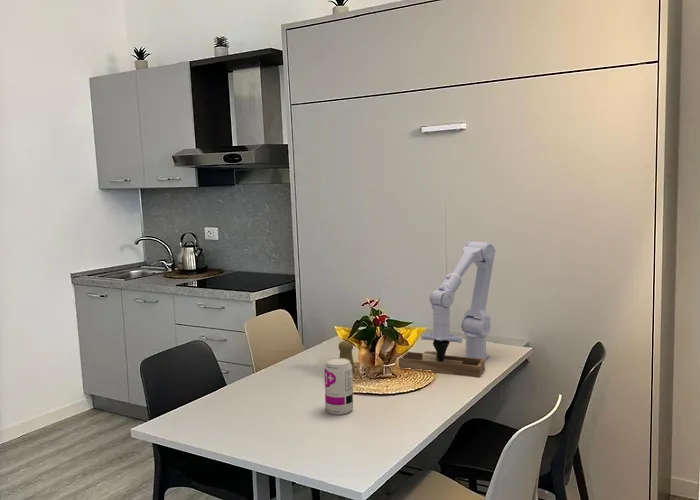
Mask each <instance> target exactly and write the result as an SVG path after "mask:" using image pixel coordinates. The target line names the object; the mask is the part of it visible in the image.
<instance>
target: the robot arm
mask: <svg viewBox="0 0 700 500" xmlns="http://www.w3.org/2000/svg"><path fill="white" fill-rule="evenodd" d="M495 254H496V249H495V246H494V245H493V244H492V243H491V242H489V241H488V242H484V241H476V240H475V241H474V240H468V241H467V242H466V243H465V245H464V247H463V248H462V256H461V257H460V258H459V260H458V263H457V264H456V266H455V268H454V270H453V271H452V272H450V273H447V274H446V276H445V278H444V279H443V281H442V282H441V284H440V285H439V287H438V288H437V289H434V290H433V291H432V292H431V293H430V296H429V303H430V304H431V309H432V312H433V313H432V316H433V318H432V319H433V321H432V327H433V328H432V329H433V331H432V333H426V332H425V333H421V335H420V340H421V341H433V342H432V346H433V347H434V349H435V351H437V354H438V358H439V361H441V362H443V361H444V356H445V355H446V351H447V349H448V347H449V345H450V343H458V344H462V343H463V336H462V335H461V336H460V335H459V336H458V335H454V334H450V332H451V331H450V330H451V329H450V328H451V327H450V321H451V320H450V318H451V317H450V310H451V309H450V307H451V306H452V305H453V303H454V298H455V293H456V292H457V290H458V289H459V288H460V285H462V282H463V281H462V277H463V276H464V275H465V274H466V272H467V271H468V269H469V268H470V267H471V266H472V265H473V263H474V264H475V266H476V268H477V269H476V274H475V275H476V276H475V279H474V286H473V287H474V288H473V293H472V299H471V304H470V305H471V306H470V308H469V309H468V310H466V311H465V312H464V316H463V319H462V320H461V324H460V327H461V330H462V331H463V332H464V333H463V335H465V356H464V357H469V358H479V359H485V361H486V360H487V359H488V357H489V354H488V353H487V338H486V337H488V335H489V334H490V332H491V316H490V315H489V313H487V312H486V309H487V302H488V295H489V289H490V284H491V279H492V278H491V277H492V271H493V267H494V262H495V261H494V259H495V256H496V255H495Z"/></svg>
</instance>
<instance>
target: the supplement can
mask: <svg viewBox="0 0 700 500" xmlns="http://www.w3.org/2000/svg"><path fill="white" fill-rule="evenodd" d="M353 381H354V380H353V374H352V365H351V363H350V360H348V359H345V358H339V357H334V358H329V359H328V360H326V362H325V364H324V400H325V401H324V404H325V410H326V411H327V412H328V413H329V414H331V415H334V416H335V415H336V416H337V415H338V416H340V415H341V416H342V415H347V414H349V413H351V411H352V410H353V409H354V393H353V391H354V390H353V384H354V383H353Z"/></svg>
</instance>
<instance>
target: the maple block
mask: <svg viewBox="0 0 700 500" xmlns="http://www.w3.org/2000/svg"><path fill="white" fill-rule="evenodd" d="M422 353H423V354H422V360H425V361H435V362H438V361H439V358H438V354H437V351H436V350H425V351H424V352H422Z"/></svg>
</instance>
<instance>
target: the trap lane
mask: <svg viewBox="0 0 700 500" xmlns="http://www.w3.org/2000/svg"><path fill="white" fill-rule="evenodd" d="M404 353H405V352H404ZM404 353H403V354H404ZM423 353H424V352H416V351H415V352H414V351H406V353H405V354H404V355H403V354H402V355H401V356H400V357H399V358H398V368H399V367H401V368H411V369H422V370H431V371H434V372H436V373H437V374H445V375H453V376H455V375H456V376H463V377H475V378H480V377H481V376H482V374H483V372H484V371H485V369H486V360H485V359H479V358H469V357H465V356H457V355H456V356H455V355H446V354H445V356H444V361H443V362H441V361H438V362H435V361H425V360H422V354H423ZM434 372H433V373H434Z"/></svg>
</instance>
